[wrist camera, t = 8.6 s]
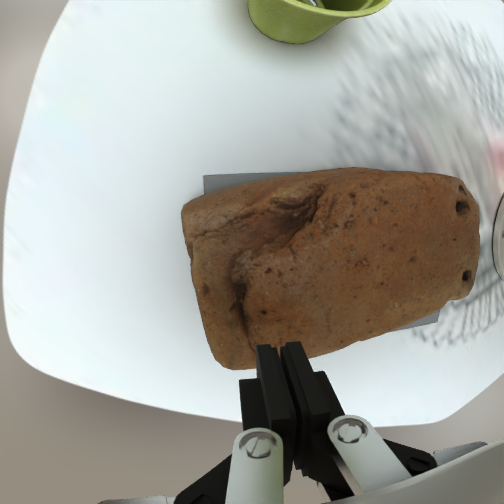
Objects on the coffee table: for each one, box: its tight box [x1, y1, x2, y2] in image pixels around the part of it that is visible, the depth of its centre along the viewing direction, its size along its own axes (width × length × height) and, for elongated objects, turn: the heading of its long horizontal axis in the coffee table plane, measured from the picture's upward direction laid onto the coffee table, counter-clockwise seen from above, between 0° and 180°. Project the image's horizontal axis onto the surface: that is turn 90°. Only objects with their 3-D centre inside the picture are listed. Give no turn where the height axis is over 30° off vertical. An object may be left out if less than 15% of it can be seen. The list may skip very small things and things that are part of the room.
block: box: [181, 167, 480, 370], centre depth 20 cm, size 11×8×20 cm
